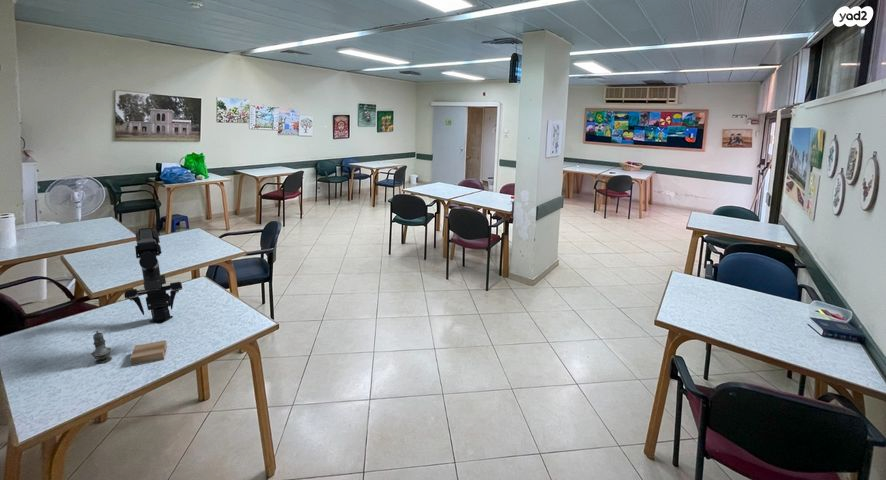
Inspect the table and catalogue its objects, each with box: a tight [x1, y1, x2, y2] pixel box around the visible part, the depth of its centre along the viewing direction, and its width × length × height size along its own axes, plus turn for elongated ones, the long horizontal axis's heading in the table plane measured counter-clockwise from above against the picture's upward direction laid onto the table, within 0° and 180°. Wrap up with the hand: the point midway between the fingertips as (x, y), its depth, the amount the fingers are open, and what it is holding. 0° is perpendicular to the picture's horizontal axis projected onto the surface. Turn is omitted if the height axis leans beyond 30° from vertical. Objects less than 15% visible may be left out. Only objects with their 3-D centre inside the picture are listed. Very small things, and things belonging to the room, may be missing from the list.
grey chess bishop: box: [91, 330, 113, 365], centre depth 162 cm, size 6×6×12 cm
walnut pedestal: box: [129, 339, 168, 366], centre depth 166 cm, size 10×10×3 cm
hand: (157, 312), depth 171 cm, fingers open, 9 cm apart
